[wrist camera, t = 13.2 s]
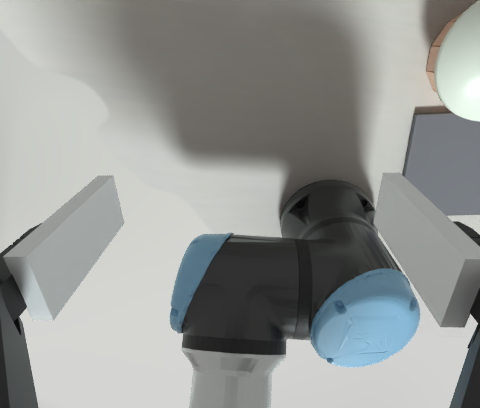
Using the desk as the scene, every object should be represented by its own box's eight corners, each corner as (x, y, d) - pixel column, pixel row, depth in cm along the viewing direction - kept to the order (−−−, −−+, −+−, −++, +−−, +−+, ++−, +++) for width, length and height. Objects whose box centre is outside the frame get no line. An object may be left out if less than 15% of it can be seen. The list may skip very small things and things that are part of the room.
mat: (499, 211, 50) (502, 213, 49) (395, 214, 51) (397, 216, 50) (536, 108, 43) (540, 109, 42) (414, 114, 44) (416, 115, 43)
